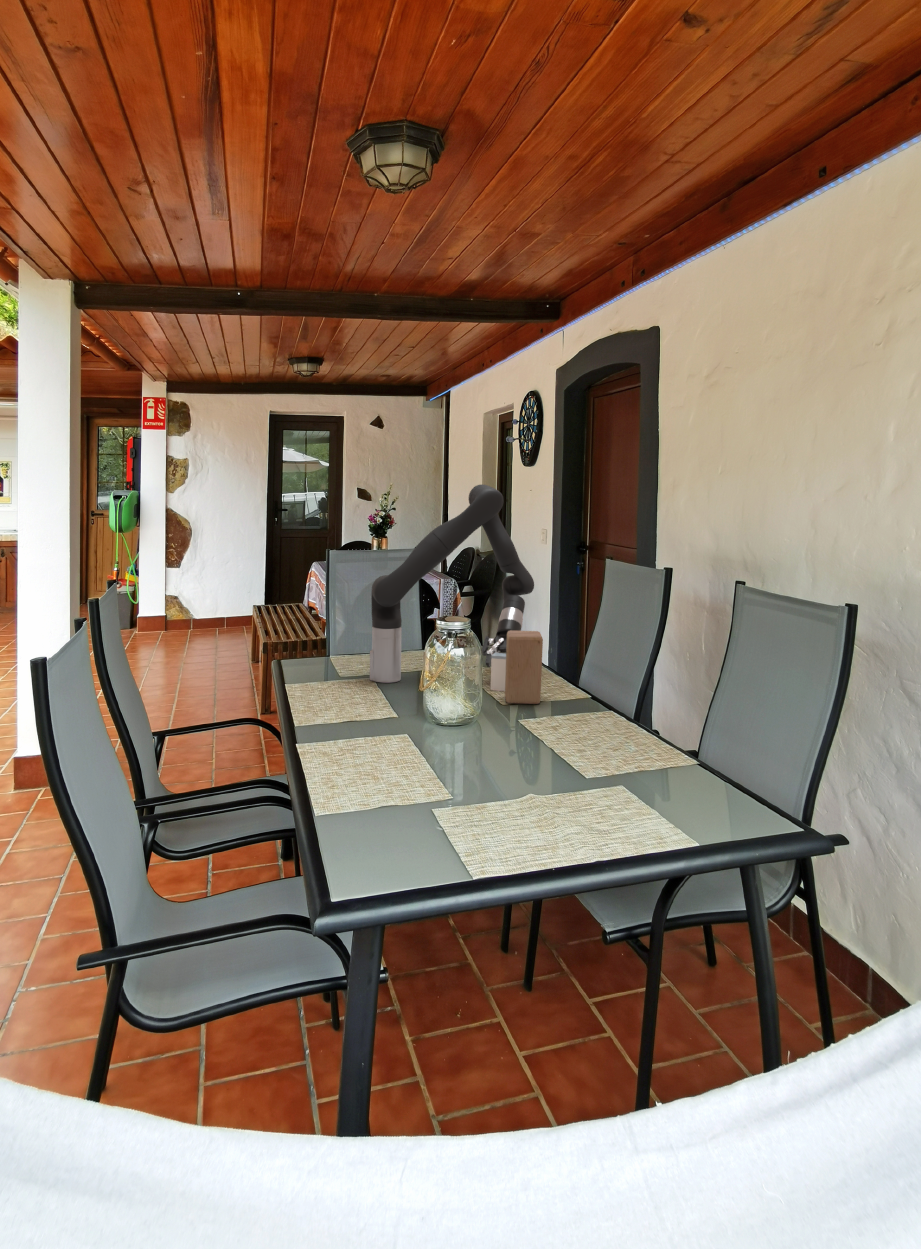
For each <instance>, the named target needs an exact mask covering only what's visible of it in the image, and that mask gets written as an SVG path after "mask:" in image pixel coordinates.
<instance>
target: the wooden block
mask: <svg viewBox="0 0 921 1249" xmlns="http://www.w3.org/2000/svg"><path fill="white" fill-rule="evenodd" d="M543 641H544V640H543V637H542V634H541V631H538V630H521V631H512V630H510V631H508V632H507V645H506V652H505V653H506V675H505V691H504V698H505V701H506V703H507V704H518V705H521V704H522V705H523V704H525V705H538V704H540V702H541V695H542V694H541V693H542V669H543V648H544V646H543V645H544V644H543V643H544V642H543Z"/></svg>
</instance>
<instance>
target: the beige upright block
mask: <svg viewBox="0 0 921 1249" xmlns="http://www.w3.org/2000/svg"><path fill="white" fill-rule="evenodd" d="M505 675H506V652H498V653H494V654H493V655H492V658H491V665H490V691H498V692H505Z"/></svg>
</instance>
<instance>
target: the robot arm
mask: <svg viewBox="0 0 921 1249" xmlns="http://www.w3.org/2000/svg"><path fill="white" fill-rule="evenodd" d="M468 503H469V505H468V506H467V508H466V509H465V510H463V511H462V512H461V513H460V514H458V515H457V516H455V517H454V518H451V519H449V520H447V521H446V522H443V523H441V524H440V525H438V526H436V527H435V528H433V529H432V530H431V531H430V532H429V533H427V535H426V536H424V538H422V539H421V540H420V542H419V543H418V544H417V545H416V546H415V547H414V549H413V550H412V551H411V553H409V555H408V556H407V558H406V559H405V560H404V562H402V563H401V565H399V566H398V567H397V568H396V569H394V571H392V572H391V573H389V574H388V575H385V574H384V575H380V576H379V577H377V578H376V579H375V580H374V581H373V583H372V585H371V594H370V596H371V624H372V626H371V631H372V632H371V633H372V634H371V635H372V636H371V650H370V651H369V681H373V682H375V683H390V684H391V683H396V682H399V681H401V680H402V614H401V600H402V599H403V598H404V597H405V596H406V595H407V593H408V592H410V590H411V589H412V588H413V587H414V586H415V585H416V584H417V583H418V582H419V581H420V580H421V579H422V578H423V577H425V576H426V575H427V574H429V573H430V572H431V571H433V570H434V569H435V568H436V567H437V566H439V565H440V564H441V563H442V562H443V561H444V560H446V559H447V558H448V557H449V555H451V554H452V553H453V552H454V551H455V550H457V548H458V547H459V546H460V545H462V544H463V542H465V541H466V540H467V539H468V538H470V536H471V535H472V534H473V533H475V531H477V530H478V529H479V528H480V527H482V528H483V530H484V532H485V534H486V537H487V539H488V541H489V543H490V546H491V549H492V551H493V554H494V556H495V559H496V562H497V565H498V566H499V569H500V571H501V572H502V573H506V574H511V575H508V576H506V577H504V579H503V580H502V582H501V588H502V596H503V602H502V609H501V613H500V616H499V619H498V623H497V624H498V625H497V628H496V634H495V637H494V638H491V637H489V635H488V636H487V635H486V636H485V637H484V641H483V644H482V647H481V653H482V656H484V657H486V658H485V661H484V663H485V666H487V668H491V658H492V655H493V654H494V653H506V645H507V632H508V631H510V630H512V631H522V628H523V620H524V618H523V617H524V614H525V612H524V611H525V607H526V602H525V599H524V598H523V597H522V596H523V595H524V596H525V595H530V594H531V593H533V591H534V589H535V581H534V578H533V577H532V575H531V573H530V572H529V570H527V568H526V567H525V566H524V564H523V563H522V562H521V559H520V557H519V554H518V552H517V548H516V546H515V545H514V542H513V541H512V538H511V537H510V535H509V534H508V531H507V530H506V528H505V526H504V525H503V523H502V520H501V518H500V516H499V513H500V511H501V509H503V506H504V496H503V494H502V492H500V491H499V490H498V489H496V488H494V487H492V486H490V485H487V484H477V485H474V486H473V488H471V490H470V491H469V493H468ZM492 644H493V645H492ZM490 646H491V648H489V647H490Z"/></svg>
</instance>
